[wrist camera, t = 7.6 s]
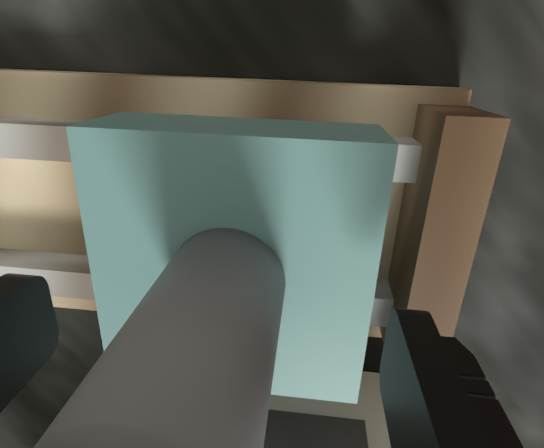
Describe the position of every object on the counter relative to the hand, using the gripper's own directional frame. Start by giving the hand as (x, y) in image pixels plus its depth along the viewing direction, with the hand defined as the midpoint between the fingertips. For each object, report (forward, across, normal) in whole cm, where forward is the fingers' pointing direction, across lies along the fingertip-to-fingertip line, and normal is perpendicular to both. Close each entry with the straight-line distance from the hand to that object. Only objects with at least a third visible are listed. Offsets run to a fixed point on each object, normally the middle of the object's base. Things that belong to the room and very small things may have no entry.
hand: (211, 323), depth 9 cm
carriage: (+5, 0, 0) cm, 5 cm away
